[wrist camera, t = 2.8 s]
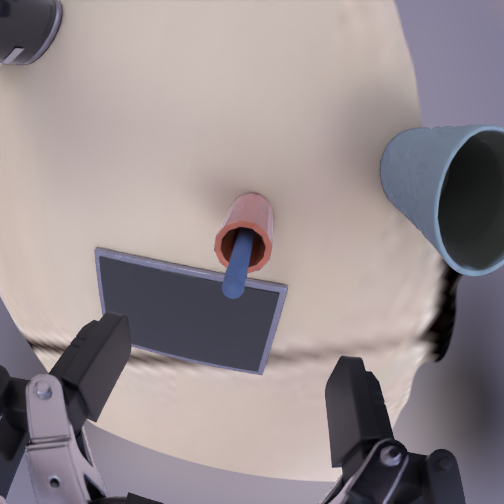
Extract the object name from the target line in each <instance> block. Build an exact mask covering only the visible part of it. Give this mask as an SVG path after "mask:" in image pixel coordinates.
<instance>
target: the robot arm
mask: <svg viewBox="0 0 504 504" xmlns="http://www.w3.org/2000/svg"><path fill="white" fill-rule="evenodd" d="M61 17H62V6H61V3H60V2H59V1H58V0H0V63H2V64H17V65H26V64H30V63H32V62H33V61H35V60H36V59H38V58H39V57H40V56H41V55H42V54H43V53H44V52H45V50H46V49H47V48H48V46H49V45H50V43H51V42H52V40H53V39H54V37H55V35H56V33H57V30H58V28H59V25H60V22H61ZM130 353H131V338H130V331H129V323H128V318H127V316H126V315H122V314H119V313H115V312H112V311H107V312H106V313H105V314H104V315H103V317H102V318H101V319H100V320H99V321H96V320H93V321H91V322H90V323H88V324H87V325H85V326H84V327H83V328H82V329H81V330H80V332H79V333H78V334H77V335H76V338H74V339H73V341H72V342H71V345H69V346H68V347H67V349H66V350H65V352H64V353H63V354H62V356H61V357H60V358H59V360H58V361H57V363H56V364H55V365H54V367H53V368H52V370H51V371H50V372H49V373H48V374H40V375H37V376H35V377H33V378H32V379H31V380H24V379H19V378H14V377H10V375H9V373H8V371H7V370H6V369H5V368H4V367H3V366H1V365H0V416H1V415H2V418H1V419H0V504H7V501H6V497H7V494H8V491H9V488H10V486H11V483H12V481H13V478H14V476H15V473H16V471H17V468H18V466H19V464H20V461H21V458H22V456H23V454H24V452H25V454H26V459H27V465H28V470H29V475H30V479H31V483H32V487H33V491H34V495H35V499H36V503H37V504H163V503H161V502H157V501H154V500H151V499H147V498H144V497H141V496H138V495H135V494H132V493H128V495H127V497H110V496H109V494H108V491H107V489H106V486H105V484H104V482H103V480H102V478H101V477H100V475H99V473H98V471H97V468H96V466H95V463H94V460H93V457H92V454H91V450H90V447H89V444H88V440H87V437H86V433H85V430H84V426H83V424H84V423H85V421H86V419H89V420H92V421H94V422H97V419H98V417H99V415H100V413H101V411H102V409H103V407H104V405H105V403H106V401H107V399H108V397H109V395H110V393H111V391H112V389H113V388H114V386H115V384H116V382H117V380H118V378H119V376H120V374H121V372H122V370H123V368H124V367H125V365H126V363H127V361H128V359H129V357H130ZM325 400H326V408H327V418H328V428H329V438H330V449H331V461H332V468H334V467H342V471H343V474H342V475H341V476H340V477H339V478H338V480H337V481H336V482H335V484H334V485H333V486H332V487H331V489H330V490H329V491H328V493H327V494H326V495H325V496H324V498H323V499H322V500H321V501H320V502H319V503H318V504H386V503H387V504H466V503H465V497H464V492H463V487H462V482H461V477H460V473H459V469H458V464H457V461H456V458H455V456H454V455H453V454H452V453H451V452H450V451H448V450H445V449H438V450H435V451H434V452H433V453H431V454H430V455H429V456H427V455H421V454H415V453H410V452H407V449H406V448H405V446H404V445H403V444H402V443H400V442H399V441H397V440H395V439H394V436H393V432H392V428H391V424H390V420H389V416H388V413H387V409H386V405H385V404H384V402H385V401H384V398H383V395H382V391H381V387H380V384H379V381H378V380H377V379H376V377H375V376H374V375H373V373H372V372H370V371H366V370H365V367H364V363H363V360H362V358H360V357H349V356H341V357H340V358H339V360H338V362H337V364H336V366H335V368H334V370H333V372H332V374H331V376H330V377H329V379H328V381H327V384H326V389H325ZM29 441H30V443H29Z"/></svg>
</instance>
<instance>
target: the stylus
mask: <svg viewBox="0 0 504 504" xmlns="http://www.w3.org/2000/svg"><path fill="white" fill-rule="evenodd" d="M254 233H255V231H254V230H253V229H250V228H245V227H240V230H239V233H238V236H237V239H236V242H235V245H234V249H233V252H232V255H231V258H230V261H229V264H228V267H227V271H226V274H225V277H224V280H223V283H222V291H223V293H224V295H225V296H226V297H228V298H231V299H235V298H238V297H240V296H241V295H242V294H243V292H244V288H245V282H246V277H247V272H248V266H249V261H250V255H251V250H252V244H253V239H254Z"/></svg>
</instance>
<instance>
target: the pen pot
mask: <svg viewBox="0 0 504 504" xmlns="http://www.w3.org/2000/svg"><path fill="white" fill-rule="evenodd" d="M240 227H245V228H250V229H253V230H254V231H255V233H254V239H253V244H252V250H251V255H250V261H249V266H248V272H247V273H250V272H254V271H257V270H260V269H261V268H262V267H263V266H264V265H265V264H266V263H267V262H268V261H269V259H270V255H271V250H272V238H273V212H272V207H271V205H270V203H269V201H268V200H267V199H266V198H265V197H263V196H262V195H259V194H256V193H246V194H243V195H241V196H239V197H238V198H237V199H236V200H235V201H234V203H233V204H232V205H231V207H230V209H229V211H228V213H227V215H226V217H225V219H224V221H223V223H222V225H221V227H220V229H219V231H218V233H217V235H216V239H215V247H214V250H215V252H216V255H217V257H218V259H219V261H220V263H221V264H223V265H224V266H225V267H228V264H229V261H230V258H231V255H232V252H233V249H234V245H235V242H236V239H237V236H238V233H239V230H240Z"/></svg>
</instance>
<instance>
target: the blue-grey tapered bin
mask: <svg viewBox="0 0 504 504" xmlns="http://www.w3.org/2000/svg"><path fill="white" fill-rule="evenodd" d="M380 172H381V175H380V176H381V181H382V185H383V189H384V191H385V193H386V195H387V197H388V199H389V200H390V201H391V202H392V203H393V205H394V206H395V207H396V208H397V209H399V210H400V211H401V212H402V213H403V214H405V216H406V217H407V218H408V219H409V220H410V221H411V222H412V223H413V224H414V225H415V226H416V228H417V229H418V230H420V231H421V232H422V234H423V235H424V236H425V237H426V238H427V239H428V240H429V242H430V243H431V244H432V245H433V246H434V247H435V248H436V250H437V251H438V252H439V253H440V255H441V256H442V257H443V258H444V260H445V261H446V262H447V263H448V264H449V265H450V266H451V267H452V268H453V269H454V270H456V271H457V272H459V273H461V274H464V275H469V276H480V275H485V274H488V273H490V272H493V271H495V270H496V269H498V268H499V267H501V266H502V265H503V264H504V128H502V127H499V126H495V125H468V126H461V127H451V126H448V127H447V126H446V127H436V128H433V129H430V128H417V129H409V130H406V131H404V132H402V133H400V134H398V135H397V136H396V137H394V138H393V139H392V140H391V141H390V143H389V144H388V145H387V147H386V149H385V151H384V153H383V156H382V160H381V169H380Z"/></svg>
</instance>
